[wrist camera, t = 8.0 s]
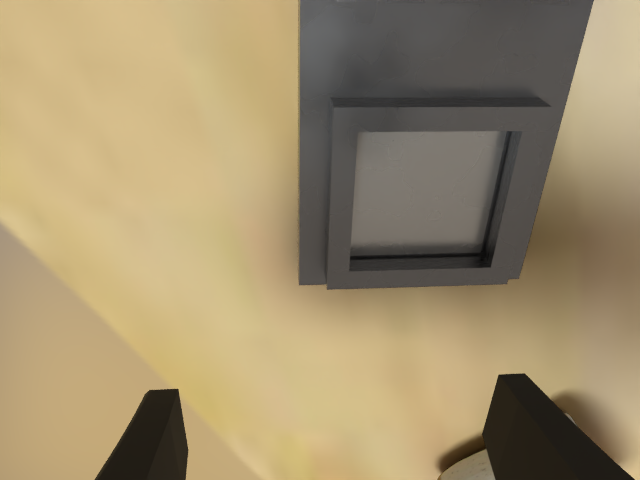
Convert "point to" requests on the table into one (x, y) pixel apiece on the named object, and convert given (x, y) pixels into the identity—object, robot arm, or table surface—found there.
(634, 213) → the table surface
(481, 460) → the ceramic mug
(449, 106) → the panel
